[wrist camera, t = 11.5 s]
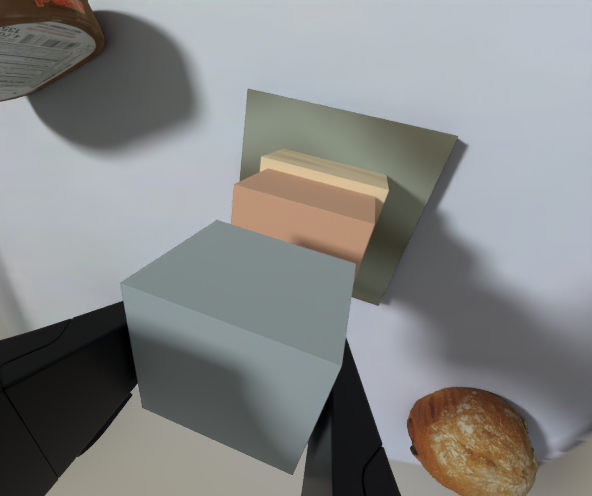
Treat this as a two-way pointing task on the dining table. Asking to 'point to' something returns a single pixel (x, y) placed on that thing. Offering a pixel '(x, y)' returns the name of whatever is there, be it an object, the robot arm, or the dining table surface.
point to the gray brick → (240, 338)
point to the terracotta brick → (305, 213)
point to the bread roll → (472, 443)
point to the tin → (44, 42)
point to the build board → (358, 149)
